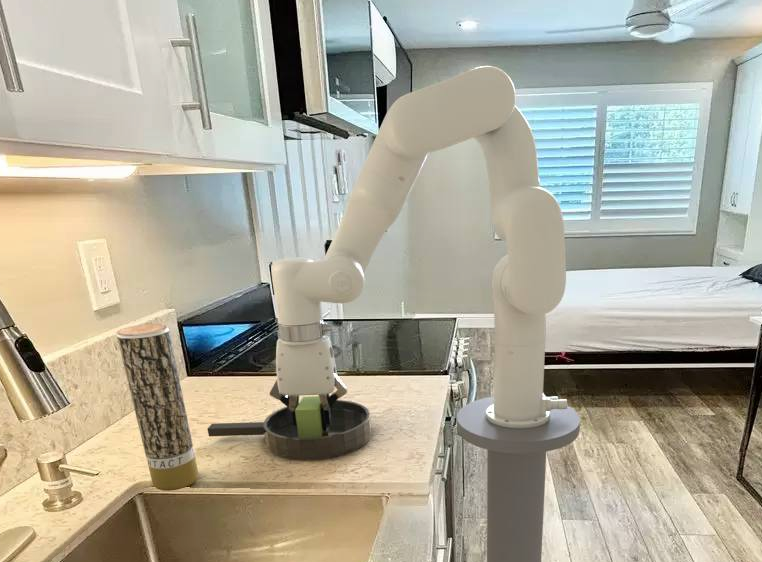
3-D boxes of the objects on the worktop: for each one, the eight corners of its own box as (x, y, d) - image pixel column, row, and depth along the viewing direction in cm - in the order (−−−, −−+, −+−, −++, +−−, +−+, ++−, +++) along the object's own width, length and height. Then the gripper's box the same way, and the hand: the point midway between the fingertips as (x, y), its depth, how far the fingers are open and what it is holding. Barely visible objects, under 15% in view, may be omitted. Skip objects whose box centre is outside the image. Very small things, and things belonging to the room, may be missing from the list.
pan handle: (269, 429, 107) (267, 421, 106) (265, 434, 105) (264, 426, 104) (213, 431, 107) (211, 423, 106) (208, 436, 105) (207, 428, 104)
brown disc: (330, 430, 108) (329, 425, 108) (326, 439, 105) (326, 434, 104) (308, 431, 108) (308, 426, 108) (305, 440, 104) (304, 435, 104)
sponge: (327, 422, 109) (324, 395, 107) (320, 437, 103) (317, 409, 101) (306, 423, 109) (303, 396, 107) (298, 438, 103) (294, 410, 101)
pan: (375, 416, 116) (374, 398, 114) (365, 458, 98) (363, 437, 96) (281, 419, 115) (278, 401, 114) (253, 462, 98) (249, 441, 96)
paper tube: (166, 472, 95) (132, 324, 86) (206, 472, 94) (176, 323, 85) (144, 492, 88) (105, 335, 79) (187, 492, 88) (153, 334, 79)
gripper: (352, 325, 103) (360, 419, 110) (259, 327, 102) (273, 421, 109) (347, 335, 96) (355, 435, 103) (246, 338, 95) (262, 437, 102)
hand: (313, 427), depth 106 cm, fingers closed on sponge, 4 cm apart
